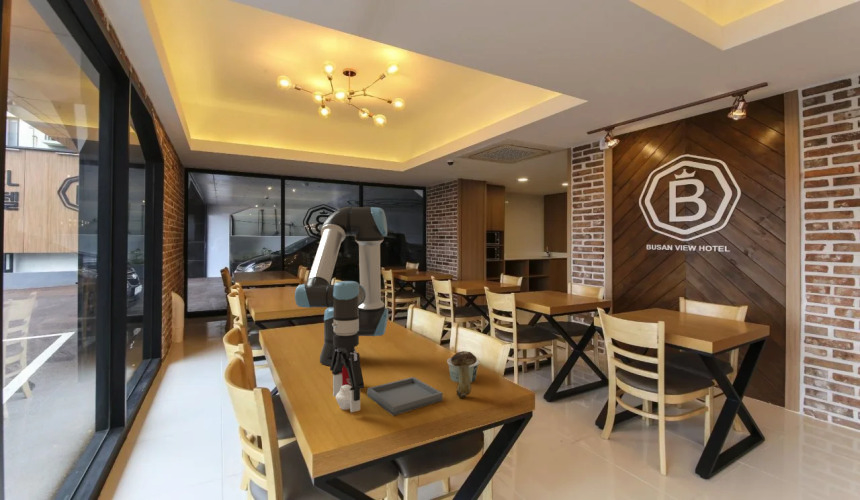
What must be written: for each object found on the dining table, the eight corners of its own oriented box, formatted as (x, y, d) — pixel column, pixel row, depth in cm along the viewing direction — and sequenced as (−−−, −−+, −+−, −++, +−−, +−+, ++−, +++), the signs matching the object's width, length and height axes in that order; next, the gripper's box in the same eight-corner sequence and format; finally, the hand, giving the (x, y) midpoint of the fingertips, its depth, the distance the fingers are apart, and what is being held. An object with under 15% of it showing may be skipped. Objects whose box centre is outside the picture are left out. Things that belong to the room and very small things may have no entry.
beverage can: (360, 384, 130) (360, 350, 130) (351, 391, 124) (351, 355, 124) (345, 382, 132) (345, 348, 132) (335, 388, 126) (335, 353, 126)
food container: (440, 378, 136) (440, 361, 136) (460, 370, 145) (460, 353, 145) (466, 387, 128) (466, 368, 128) (485, 378, 137) (485, 360, 137)
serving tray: (367, 395, 120) (367, 388, 120) (413, 383, 131) (413, 376, 131) (393, 415, 107) (393, 407, 107) (442, 400, 117) (442, 392, 117)
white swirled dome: (356, 411, 110) (356, 387, 109) (335, 413, 108) (335, 389, 108) (356, 402, 116) (356, 380, 115) (336, 403, 114) (336, 381, 114)
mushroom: (469, 406, 113) (469, 357, 113) (444, 399, 118) (445, 353, 117) (481, 395, 121) (482, 350, 121) (458, 389, 126) (458, 346, 125)
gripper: (319, 326, 119) (319, 391, 120) (351, 343, 99) (351, 421, 99) (342, 323, 124) (341, 386, 124) (376, 339, 103) (376, 414, 104)
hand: (345, 402), depth 112 cm, fingers open, 13 cm apart
